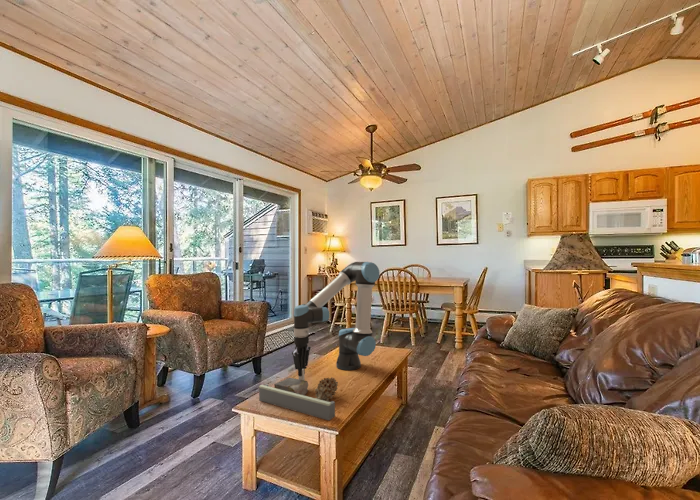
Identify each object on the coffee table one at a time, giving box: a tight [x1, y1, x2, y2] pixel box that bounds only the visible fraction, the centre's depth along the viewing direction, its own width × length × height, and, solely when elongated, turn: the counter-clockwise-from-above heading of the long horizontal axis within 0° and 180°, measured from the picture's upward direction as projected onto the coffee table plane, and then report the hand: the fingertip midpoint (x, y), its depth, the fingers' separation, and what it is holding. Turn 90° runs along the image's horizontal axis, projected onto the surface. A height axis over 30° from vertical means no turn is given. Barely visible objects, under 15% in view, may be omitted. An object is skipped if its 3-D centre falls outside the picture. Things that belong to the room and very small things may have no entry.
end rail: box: [258, 383, 336, 421], centre depth 148 cm, size 5×40×7 cm, turn 60°
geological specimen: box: [273, 377, 309, 396], centre depth 164 cm, size 11×6×15 cm
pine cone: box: [314, 377, 339, 402], centre depth 152 cm, size 22×10×10 cm, turn 155°
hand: (301, 381), depth 169 cm, fingers closed
